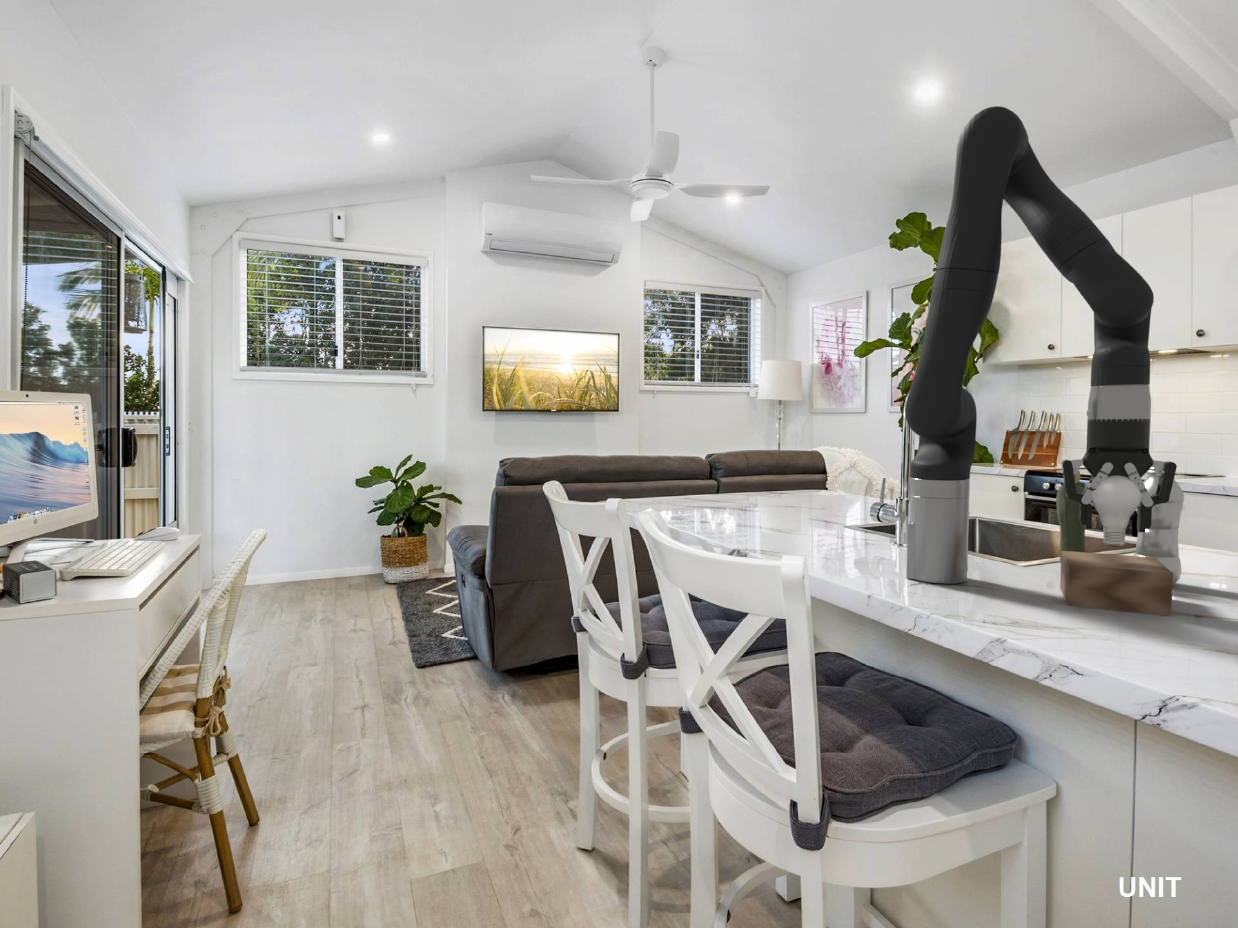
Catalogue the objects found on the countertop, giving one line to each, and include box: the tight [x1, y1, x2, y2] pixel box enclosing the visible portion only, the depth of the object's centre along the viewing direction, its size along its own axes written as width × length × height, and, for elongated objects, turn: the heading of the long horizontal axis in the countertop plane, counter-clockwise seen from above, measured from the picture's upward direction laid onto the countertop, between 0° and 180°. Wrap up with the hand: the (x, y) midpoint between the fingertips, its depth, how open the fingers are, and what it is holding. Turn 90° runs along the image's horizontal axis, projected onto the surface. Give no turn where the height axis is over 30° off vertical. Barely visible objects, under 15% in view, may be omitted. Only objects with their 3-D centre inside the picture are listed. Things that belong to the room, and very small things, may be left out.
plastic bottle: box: [1133, 467, 1185, 585], centre depth 112 cm, size 6×7×20 cm
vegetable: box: [1055, 471, 1086, 564], centre depth 118 cm, size 4×4×20 cm
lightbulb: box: [1091, 475, 1142, 548], centre depth 102 cm, size 6×6×11 cm
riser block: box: [1059, 551, 1174, 617], centre depth 102 cm, size 12×12×6 cm
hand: (1114, 529), depth 102 cm, fingers closed on lightbulb, 6 cm apart
